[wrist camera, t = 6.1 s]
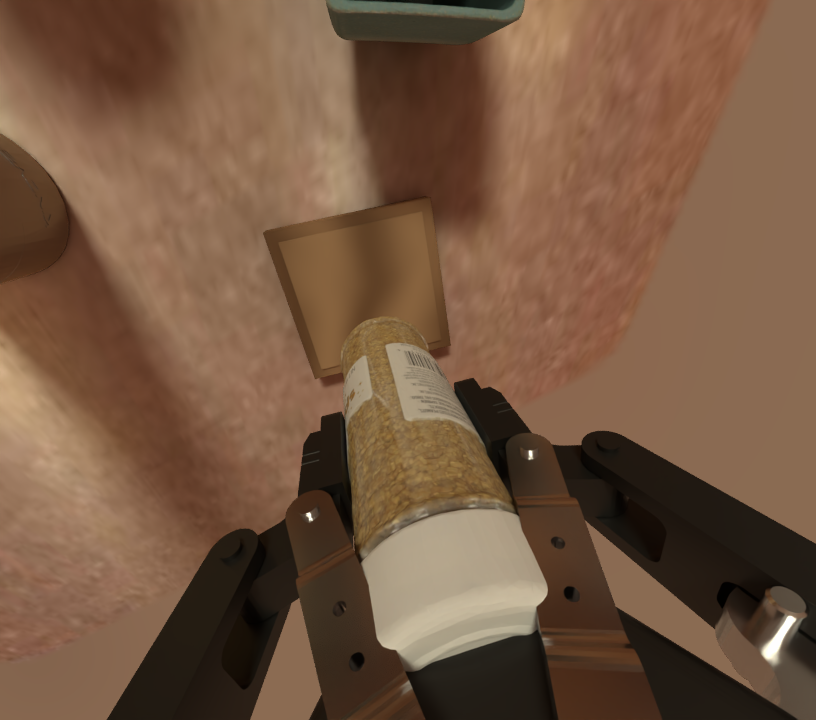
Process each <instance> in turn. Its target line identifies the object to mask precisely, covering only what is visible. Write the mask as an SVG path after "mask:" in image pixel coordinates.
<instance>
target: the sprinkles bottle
mask: <svg viewBox="0 0 816 720" xmlns="http://www.w3.org/2000/svg"><path fill="white" fill-rule="evenodd" d="M340 367H341V372H342V373H343V379H344V387H343V402H344V415H345V429H346V445H347V463H348V473H349V479H350V483H351V493H352V519H353V524H354V541H355V542H354V548H355V554H356V556H357V559H358V561H359V563H360V566H361V568H362V571H363V573H364V575H365V578H366V580H367V582H368V585H369V592H370V598H371V604H372V610H373V617H374V623H375V629H376V636H377V640H378V641H379V642H380V644H381V645H382V646H383V647H385V648H388V649H391V650H396V651H397V653H398V656H399V658H400V661H401V663H402V665H403V668H404V670H405V671H408V672H415V671H418V670H421V669H422V668H424V667H425V666H427V665H428V664H430V663H432V662H435V661H438V660H441V659H444V658H447V657H450V656H453V655H456V654H459V653H462V652H465V651H468V650H471V649H474V648H477V647H480V646H484V645H487V644H490V643H493V642H496V641H499V640H502V639H505V638H508V637H512V636H517V635H529V634H532V633H533V632H535V631H536V630H537V614H536V606H538V605H539V604H540V603H541V602H542V601H543V600H544V599H545V597H546V596H547V592H548V587H547V583H546V581H545V579H544V576H543V574H542V572H541V570H540V567H539V565H538V563H537V561H536V559H535V556H534V554H533V552H532V550H531V548H530V546H529V544H528V542H527V540H526V537H525V535H524V533H523V531H522V528H521V523H520V518H519V516H518V515H517V511H516V508H515V506H514V502H513V499H512V498H511V496H510V494H509V492H508V491H507V489H506V487H505V485H504V484H503V482H502V480H501V478H500V477H499V475H498V473H497V471H496V469H495V467H494V465H493V464H492V462H491V460H490V459H489V457H488V455H487V451H486V448H485V445H484V443H483V441H482V439H481V438H480V436H479V434H478V432H477V431H476V429H475V427H474V426H473V424H472V422H471V420H470V419H469V417H468V415H467V413H466V412H465V410H464V408H463V406H462V405H461V403H460V401H459V399H458V398H457V396H456V394H455V392H454V391H453V389H452V387H451V385H450V384H449V382H448V380H447V378H446V377H445V375H444V373H443V371H442V370H441V368H440V366H439V365H438V363H437V362H436V360H435V359H434V358H433V357H432V356H431V354H430V353H429V347H428V344H427V342H426V339H425V338H424V336H423V335H422V333H421V332H420V331H419V330H418V329H417V328H416V327H415V326H414V325H413V324H411V323H410V322H407V321H405V320H403V319H400V318H397V317H378V318H373V319H369V320H366V321H364V322H362V323H361V324H360V325H358V326H357V327H356V328H355V329H353V330H352V331H351V333H350V335H348V337H347V338H346V340H345V341H344V343H343V346H342V349H341V354H340ZM567 600H568V599H567ZM363 665H364V664H363ZM362 667H363V666H362Z"/></svg>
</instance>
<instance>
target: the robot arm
mask: <svg viewBox="0 0 816 720" xmlns="http://www.w3.org/2000/svg"><path fill="white" fill-rule="evenodd" d="M68 235H69V221H68V216H67V212H66V208H65V204H64V202H63V200H62V198H61V196H60V194H59V191H58V189H57V187H56V186H55V184H54V183H53V182H52V180H51V179H50V177H49V176H48V174H47V173H46V172H45V170H44V169H43V168H42V167H41V166H40V165H39V164H38V163H37V162H36V161H35V160H34V159H33V158H32V157H31V156H30V154H28V153H27V152H26V151H24V150H23V149H22V148H21V147H19V146H18V145H17V144H16V143H14V142H13V141H12V140H10V139H9V138H7V137H5V136H4V135H2V134H0V284H2V283H5V282H9V281H12V280H15V279H18V278H21V277H25V276H28V275H31V274H34V273H37V272H39V271H41V270H43V269H45V268H48V267H49V266H50V265H51V264H53V263H54V262H55V261H56V260H57V259H58V258H59V257H60V255H61V254H62V252H63V250H64V249H65V247H66V243H67V239H68ZM454 389H455V394H456V396H457V398H458V399H459V401H460V403H461V405H462V406H463V408H464V410H465V412H466V413H467V415H468V417H469V419H470V420H471V422H472V424H473V426H474V427H475V429H476V431H477V432H478V434H479V436H480V438H481V439H482V441H483V443H484V445H485V448H486V451H487V455H488V457H489V459H490V460H491V462H492V464H493V465H494V467H495V469H496V471H497V473H498V475H499V477H500V478H501V480H502V482H503V484H504V485H505V487H506V489H507V491H508V492H509V494H510V496H511V498H512V499H513V502H514V506H515V508H516V511H517V515H518V516H519V518H520V523H521V528H522V531H523V533H524V535H525V537H526V540H527V542H528V544H529V546H530V548H531V550H532V552H533V554H534V556H535V559H536V561H537V563H538V565H539V567H540V570H541V572H542V574H543V576H544V579H545V581H546V583H547V587H548V592H547V596H546V597H545V599H544V600H543V601H542V602H541V603H540V604H539V605H538V606H536V614H537V630H536V631H535V632H533V633H532V634H529V635H517V636H512V637H508V638H505V639H502V640H499V641H496V642H493V643H490V644H487V645H484V646H480V647H477V648H474V649H471V650H468V651H465V652H462V653H459V654H456V655H453V656H450V657H447V658H444V659H441V660H438V661H435V662H432V663H430V664H428V665H427V666H425V667H424V668H422V669H421V670H418V671H415V672H408V671H405V670H404V668H403V665H402V663H401V661H400V658H399V656H398V653H397V651H396V650H391V649H388V648H385V647H383V646H382V645H381V644H380V642H379V641H378V640H377V636H376V629H375V623H374V617H373V610H372V604H371V598H370V592H369V585H368V582H367V580H366V578H365V575H364V573H363V571H362V568H361V566H360V563H359V561H358V559H357V556H356V554H355V552H354V549H353V535H354V524H353V519H352V493H351V483H350V479H349V473H348V463H347V445H346V429H345V420H344V417H343V414H342V412H337V413H333V414H330V415H326V416H322V417H321V431H318V432H314V433H310V435H309V436H308V438H307V440H306V441H305V443H304V446H303V457H302V463H301V464H302V466H301V472H300V481H299V490H298V498H296V499H295V500H294V501H293V502H292V503H291V505H290V506H289V507H288V509H287V512H286V515H285V519H284V520H283V521H281V522H280V523H279V524H277V525H275V526H274V527H272V528H270V529H268V530H266V531H265V532H263V533H261V534H259V535H258V536H257V534H256V533H255V532H254V531H253V530H251V529H239V530H235V531H233V532H231V533H229V534H227V535H226V536H224V537H223V538H221V539H220V540H219V541H218V542H217V543H216V544H215V545H214V546H213V547H212V549H211V550H210V552H209V553H208V555H207V556H206V558H205V560H204V561H203V563H202V565H201V566H200V568H199V570H198V571H197V573H196V574H195V576H194V578H193V579H192V581H191V583H190V584H189V586H188V588H187V589H186V591H185V593H184V594H183V596H182V597H181V599H180V601H179V602H178V604H177V606H176V607H175V609H174V611H173V612H172V614H171V615H170V617H169V619H168V620H167V622H166V624H165V625H164V627H163V629H162V630H161V632H160V633H159V635H158V637H157V639H156V640H155V642H154V643H153V645H152V647H151V648H150V650H149V651H148V653H147V655H146V656H145V658H144V660H143V661H142V663H141V665H140V666H139V668H138V670H137V671H136V673H135V675H134V676H133V678H132V679H131V681H130V683H129V684H128V686H127V688H126V689H125V691H124V692H123V694H122V696H121V697H120V699H119V701H118V702H117V704H116V706H115V707H114V709H113V711H112V712H111V714H110V715H109V717H108V719H107V720H250V718H251V716H252V713H253V710H254V707H255V704H256V701H257V699H258V696H259V693H260V690H261V688H262V685H263V682H264V679H265V676H266V674H267V671H268V668H269V665H270V662H271V659H272V657H273V654H274V651H275V648H276V646H277V642H278V640H279V637H280V634H281V632H282V629H283V626H284V623H285V620H286V618H287V615H288V612H289V609H290V606H291V603H292V602H294V601H295V600H297V599H298V598H300V603H301V607H302V611H303V616H304V620H305V624H306V628H307V633H308V637H309V641H310V646H311V650H312V654H313V659H314V663H315V667H316V672H317V675H318V680H319V684H320V688H321V693H322V695H321V697H320V699H319V701H318V703H317V705H316V707H315V709H314V711H313V713H312V715H311V717H310V719H309V720H816V544H815V543H813V542H812V541H810V540H808V539H806V538H804V537H803V536H801V535H799V534H797V533H796V532H794V531H792V530H790V529H788V528H787V527H785V526H783V525H781V524H779V523H778V522H776V521H774V520H772V519H770V518H768V517H767V516H765V515H763V514H762V513H760V512H758V511H756V510H754V509H753V508H751V507H749V506H747V505H745V504H744V503H742V502H740V501H738V500H737V499H735V498H733V497H731V496H729V495H728V494H726V493H724V492H722V491H721V490H719V489H717V488H715V487H713V486H711V485H710V484H708V483H706V482H704V481H703V480H701V479H699V478H697V477H695V476H694V475H692V474H690V473H688V472H687V471H684V470H683V469H681V468H679V467H678V466H676V465H674V464H672V463H670V462H668V461H667V460H665V459H663V458H662V457H660V456H658V455H656V454H654V453H653V452H651V451H649V450H647V449H646V448H644V447H642V446H640V445H638V444H636V443H635V442H633V441H631V440H629V439H627V438H626V437H624V436H622V435H620V434H617V433H614V432H609V431H595V432H591V433H589V434H587V435H586V436H585V437H584V438H583V440H582V445H574V446H573V445H572V446H559V445H552V444H551V443H550V441H548V440H547V439H546V438H544V437H543V436H541V435H538V434H533V433H532V432H531V431H530V430H529V428H528V427H527V426H526V425H525V423H524V422H523V421H522V420H521V418H520V417H519V416H518V414H517V413H516V412H515V410H514V409H512V407H511V405H510V404H509V403H508V402H507V400H506V399H505V398H504V396H503V395H502V394H501V393H500V392H499V391H497V390H495V389H493V388H491V387H487V388H483V389H481V388H480V386H479V385H478V383H477V382H476V381H475V379H474V378H470V379H466V380H462V381H458V382H455V383H454ZM585 520H586V521H587V522H588V523H589V524H590V525H591V526H593V527H594V528H595V529H596V530H597V531H599V532H600V533H601V534H602V535H603V536H605V537H606V538H607V539H608V540H609V541H610V542H612V543H613V544H614V545H615V546H616V547H618V548H619V549H620V550H621V551H622V552H624V553H625V554H626V555H627V556H628V557H630V558H631V559H632V560H633V561H634V562H635V563H637V564H638V565H639V566H640V567H641V568H643V569H644V570H645V571H646V572H647V573H649V574H650V575H651V576H652V577H653V578H655V579H656V580H657V581H658V582H659V583H660V584H662V585H663V586H664V587H665V588H666V589H668V590H669V591H670V592H671V593H672V594H674V595H675V596H676V597H677V598H678V599H679V600H681V601H682V602H683V603H684V604H685V605H687V606H688V607H689V608H690V609H691V610H693V611H694V612H695V613H696V614H697V615H698V616H700V617H701V618H702V619H703V620H704V621H706V622H707V623H708V624H709V625H711V626H712V627H713V628H714V629H715V632H716V638H717V640H718V643H719V645H720V647H721V649H722V651H723V652H724V654H725V655H726V657H727V658H728V659H729V660H730V662H731V663H732V665H733V667H734V669H735V670H736V671H737V672H738V673H739V674H740V675H741V676H742V677H743V678H745V679H746V680H748V681H749V683H750V684H751V686H752V687H753V689H754V690H755V692H754V691H752V690H750V689H749V688H747V687H746V686H744V685H743V684H741V683H739V682H738V681H736V680H734V679H733V678H731V677H730V676H728V675H726V674H724V673H723V672H721V671H719V670H718V669H716V668H715V667H713V666H712V665H710V664H708V663H707V662H705V661H703V660H702V659H700V658H698V657H697V656H695V655H694V654H692V653H690V652H689V651H687V650H685V649H684V648H682V647H681V646H679V645H677V644H676V643H674V642H672V641H671V640H669V639H668V638H666V637H664V636H663V635H661V634H659V633H658V632H656V631H655V630H653V629H651V628H650V627H648V626H646V625H645V624H643V623H641V622H640V621H638V620H637V619H635V618H633V617H632V616H630V615H628V614H627V613H625V612H624V611H622V610H620V609H619V608H617V607H616V606H615V603H614V601H613V598H612V595H611V592H610V589H609V586H608V584H607V581H606V578H605V575H604V573H603V570H602V567H601V564H600V562H599V559H598V556H597V553H596V550H595V548H594V545H593V542H592V539H591V536H590V534H589V531H588V528H587V525H586V523H585ZM567 599H568V600H567ZM363 664H364V665H363ZM362 666H363V667H362Z"/></svg>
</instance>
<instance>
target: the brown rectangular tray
mask: <svg viewBox="0 0 816 720" xmlns="http://www.w3.org/2000/svg"><path fill="white" fill-rule="evenodd" d="M263 234H264V237H265V240H266V243H267V246H268V248H269V251H270V254H271V257H272V260H273V262H274V265H275V268H276V271H277V274H278V277H279V279H280V282H281V285H282V288H283V291H284V293H285V296H286V299H287V302H288V305H289V307H290V310H291V313H292V316H293V319H294V321H295V324H296V327H297V330H298V333H299V335H300V338H301V341H302V344H303V347H304V349H305V352H306V355H307V358H308V361H309V363H310V366H311V369H312V372H313V375H314V377H315V379H318V378H322V377H326V376H330V375H334V374H338V373H342V372H341V367H340V354H341V349H342V346H343V343H344V341H345V340H346V338H347V337H348V335H350V333H351V331H352V330H353V329H355V328H356V327H357V326H358V325H360V324H361V323H362V322H364V321H366V320H369V319H373V318H378V317H397V318H400V319H403V320H405V321H407V322H410V323H411V324H413V325H414V326H415V327H416V328H417V329H418V330H419V331H420V332H421V333H422V335H423V336H424V338H425V339H426V342H427V344H428V347H429V351H430V350H434V349H438V348H442V347H446V346H450V345H451V344H450V336H449V329H448V322H447V314H446V307H445V300H444V292H443V285H442V278H441V270H440V263H439V256H438V248H437V241H436V234H435V226H434V219H433V212H432V205H431V197H421V198H416V199H412V200H407V201H402V202H398V203H393V204H388V205H383V206H379V207H374V208H369V209H365V210H360V211H355V212H351V213H346V214H341V215H337V216H332V217H327V218H322V219H318V220H313V221H308V222H304V223H299V224H294V225H290V226H285V227H280V228H276V229H271V230H266V231H265V232H264V233H263Z"/></svg>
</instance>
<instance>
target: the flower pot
mask: <svg viewBox="0 0 816 720" xmlns="http://www.w3.org/2000/svg"><path fill="white" fill-rule="evenodd" d="M524 3H525V0H326V4H327V8H328V12H329V15H330V19H331V22H332V26H333V28H334V30H335V32H336V33H337V35H338V36H339V37H341V38H343V39H346V40H364V41H391V42H414V43H433V44H447V45H462V44H469V43H472V42H475V41H477V40H479V39H481V38H483V37H486V36H487V35H489V34H491V33H493V32H495V31H497V30H499V29H501V28H503V27H505V26H507V25H509V24H511V23H513V22H515V21H517V20H518V19H519V18H520V17H521V15H522V13H523V9H524Z"/></svg>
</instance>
